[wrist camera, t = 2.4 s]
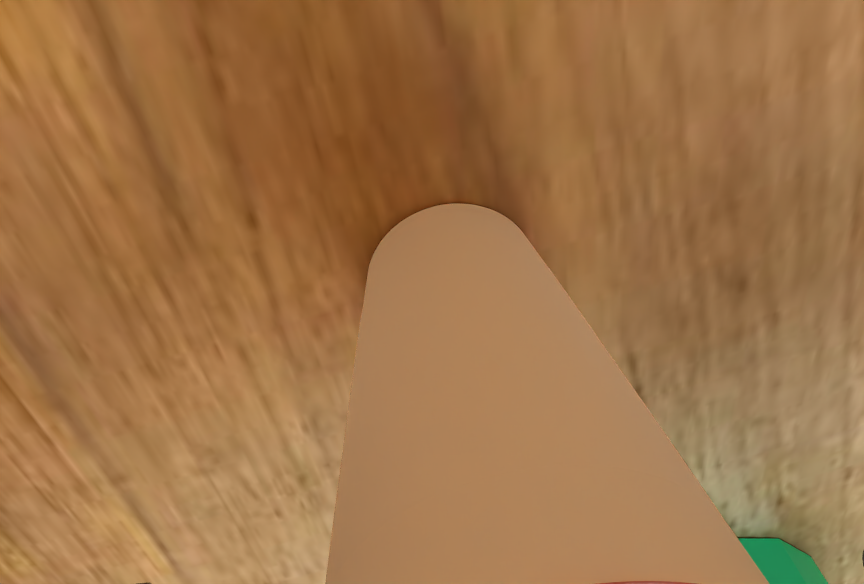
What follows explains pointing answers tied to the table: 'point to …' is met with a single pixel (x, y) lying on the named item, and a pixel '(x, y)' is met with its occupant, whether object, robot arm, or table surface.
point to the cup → (505, 431)
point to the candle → (782, 562)
